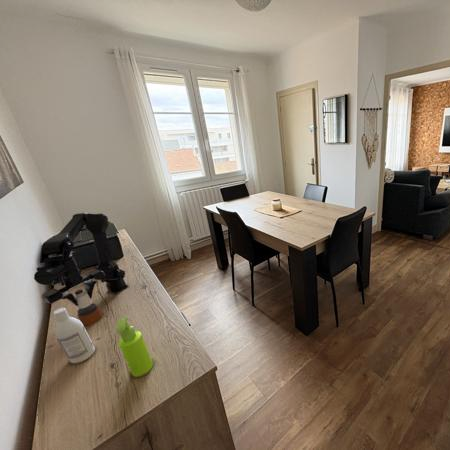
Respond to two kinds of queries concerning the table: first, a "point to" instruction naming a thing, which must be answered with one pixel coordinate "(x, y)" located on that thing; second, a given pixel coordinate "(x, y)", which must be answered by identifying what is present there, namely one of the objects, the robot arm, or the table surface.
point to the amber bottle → (89, 314)
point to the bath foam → (72, 337)
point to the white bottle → (82, 299)
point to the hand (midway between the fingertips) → (83, 302)
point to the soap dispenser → (134, 349)
